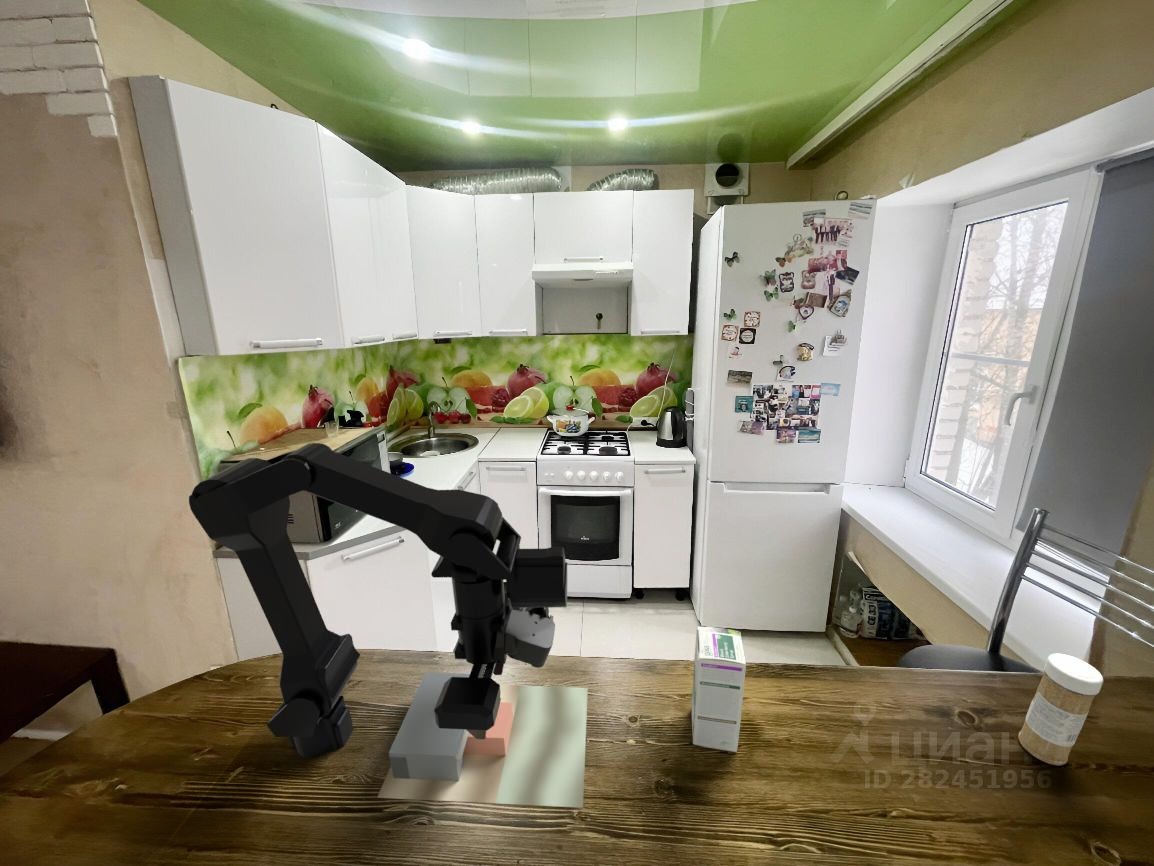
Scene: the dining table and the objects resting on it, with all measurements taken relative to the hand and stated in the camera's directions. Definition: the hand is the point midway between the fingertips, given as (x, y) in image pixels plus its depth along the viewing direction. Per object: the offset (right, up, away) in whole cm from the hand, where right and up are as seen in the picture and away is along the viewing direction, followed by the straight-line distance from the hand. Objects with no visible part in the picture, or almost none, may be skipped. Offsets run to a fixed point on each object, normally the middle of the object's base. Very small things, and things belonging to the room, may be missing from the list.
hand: (490, 703), depth 58 cm
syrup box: (+29, -6, +3) cm, 30 cm away
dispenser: (-7, -5, +2) cm, 9 cm away
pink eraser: (-3, -5, +2) cm, 6 cm away
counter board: (0, -6, +2) cm, 7 cm away
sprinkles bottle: (+70, -6, 0) cm, 70 cm away
